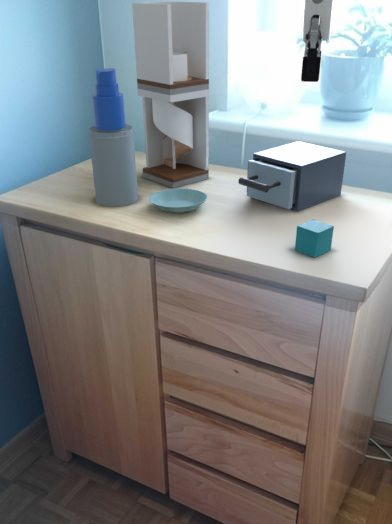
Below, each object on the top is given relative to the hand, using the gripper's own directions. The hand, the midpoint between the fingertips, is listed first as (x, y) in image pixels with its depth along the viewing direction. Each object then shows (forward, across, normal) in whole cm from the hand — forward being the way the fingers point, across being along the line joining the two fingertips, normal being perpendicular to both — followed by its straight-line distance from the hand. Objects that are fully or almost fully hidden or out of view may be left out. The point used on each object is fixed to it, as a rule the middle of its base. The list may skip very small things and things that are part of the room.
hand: (310, 77), depth 107 cm
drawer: (+22, -4, +4) cm, 23 cm away
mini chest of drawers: (+23, 0, +1) cm, 23 cm away
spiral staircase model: (+23, +9, +29) cm, 38 cm away
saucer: (+23, -11, +24) cm, 35 cm away
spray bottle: (+23, -8, +38) cm, 45 cm away
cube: (+23, -28, -3) cm, 37 cm away
